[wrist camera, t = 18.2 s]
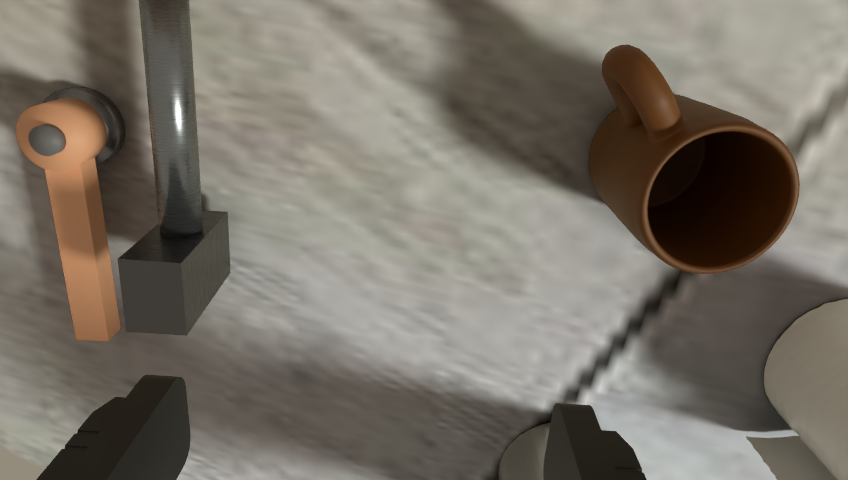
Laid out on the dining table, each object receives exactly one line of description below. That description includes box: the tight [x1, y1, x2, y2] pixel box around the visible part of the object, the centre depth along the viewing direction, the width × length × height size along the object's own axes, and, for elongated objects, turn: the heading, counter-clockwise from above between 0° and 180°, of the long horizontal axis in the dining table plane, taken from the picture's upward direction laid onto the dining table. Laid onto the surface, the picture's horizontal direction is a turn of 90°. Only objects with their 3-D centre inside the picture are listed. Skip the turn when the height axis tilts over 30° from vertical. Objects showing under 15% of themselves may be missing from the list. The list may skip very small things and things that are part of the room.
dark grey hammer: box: [118, 0, 230, 335], centre depth 31 cm, size 17×3×8 cm, turn 175°
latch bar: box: [16, 98, 121, 341], centre depth 35 cm, size 4×15×3 cm, turn 177°
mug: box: [589, 45, 800, 274], centre depth 31 cm, size 12×8×9 cm, turn 36°
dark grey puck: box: [43, 87, 125, 164], centre depth 35 cm, size 4×4×1 cm
